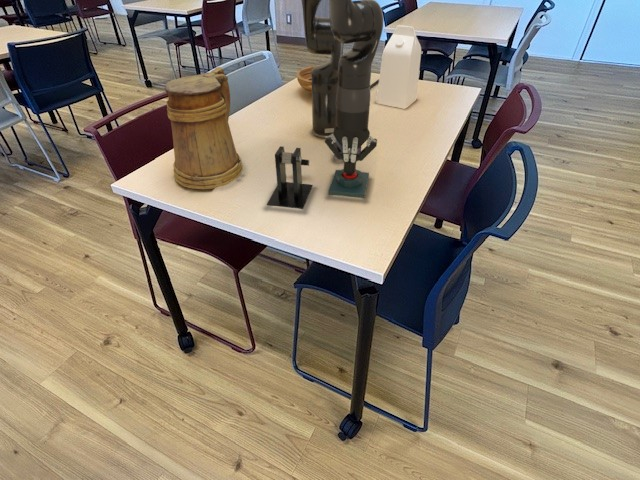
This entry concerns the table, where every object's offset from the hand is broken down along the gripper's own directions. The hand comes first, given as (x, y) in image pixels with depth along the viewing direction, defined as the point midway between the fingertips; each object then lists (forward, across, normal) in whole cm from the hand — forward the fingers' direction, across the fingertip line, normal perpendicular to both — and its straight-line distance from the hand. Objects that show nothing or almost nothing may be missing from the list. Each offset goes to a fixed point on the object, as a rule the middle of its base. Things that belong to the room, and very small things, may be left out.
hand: (349, 173), depth 96 cm
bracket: (+4, +14, +7) cm, 16 cm away
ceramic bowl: (+4, +20, -71) cm, 74 cm away
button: (+2, 0, 0) cm, 2 cm away
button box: (+4, 0, 0) cm, 4 cm away
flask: (+4, +3, -17) cm, 18 cm away
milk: (+4, -9, -67) cm, 68 cm away
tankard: (+5, +38, -3) cm, 39 cm away
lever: (-3, +14, +4) cm, 15 cm away
